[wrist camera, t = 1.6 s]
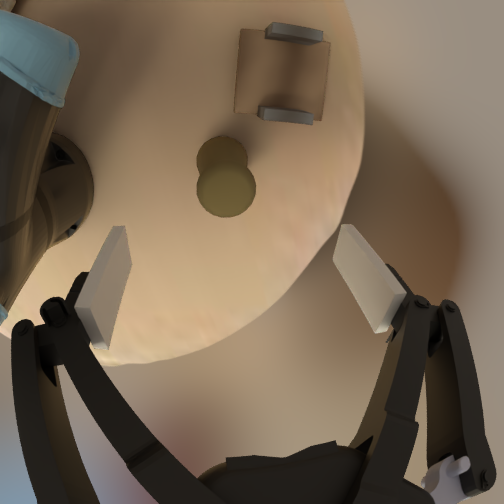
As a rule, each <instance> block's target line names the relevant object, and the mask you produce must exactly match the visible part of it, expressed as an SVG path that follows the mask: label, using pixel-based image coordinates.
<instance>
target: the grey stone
mask: <svg viewBox="0 0 504 504" xmlns="http://www.w3.org/2000/svg"><path fill="white" fill-rule="evenodd" d="M15 3H16V0H0V9H1V10H5V11H8V12H11V10H12V9H13V7H14V5H15Z"/></svg>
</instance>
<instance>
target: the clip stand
mask: <svg viewBox="0 0 504 504" xmlns="http://www.w3.org/2000/svg"><path fill="white" fill-rule="evenodd" d="M322 39H323V31H320V30H315V29H311V28H306V27H301V26H295V25H290V24H283V23H277V22H272V23H271V24H270V25H269V26H268V27H267V28H266V29H265V31H261V30H251V29H241V31H240V41H239V52H238V63H237V75H236V88H235V101H234V113H249V114H257V116H258V117H260V118H261V119H263V120H269V121H281V122H290V123H299V124H307V125H313V120H317V121H321V119H322V112H323V104H324V97H325V89H326V80H327V72H328V63H329V53H330V43H329V42H325V41H322Z"/></svg>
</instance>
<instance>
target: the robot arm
mask: <svg viewBox="0 0 504 504" xmlns="http://www.w3.org/2000/svg"><path fill="white" fill-rule="evenodd" d="M79 57H80V51H79V46H78V44H77V42H76V41H75V40H74V39H73V38H72V37H71V36H69V35H67V34H65V33H63V32H61V31H59V30H56V29H54V28H52V27H49V26H47V25H45V24H42V23H40V22H37V21H34V20H32V19H29V18H26V17H23V16H21V15H18V14H14V13H11V12H8V11H5V10H1V9H0V325H1V324H2V322H3V321H4V320H5V319H6V318H7V317H8V312H9V310H10V308H11V306H12V305H13V303H14V301H15V299H16V297H17V296H18V294H19V292H20V291H21V289H22V287H23V286H24V284H25V282H26V281H27V279H28V277H29V276H30V274H31V273H32V271H33V270H34V268H35V267H36V265H37V264H38V262H39V261H40V259H41V258H42V256H43V254H44V253H45V252H46V250H47V249H49V248H51V247H53V246H55V245H56V244H58V243H60V242H62V241H64V240H66V239H68V238H69V237H71V236H72V235H73V234H74V233H75V232H76V231H77V230H78V229H79V228H80V226H81V225H82V223H83V222H84V221H85V219H86V218H87V216H88V214H89V212H90V209H91V206H92V201H93V180H92V175H91V172H90V169H89V166H88V164H87V161H86V159H85V158H84V156H83V154H82V153H81V151H80V150H79V149H78V148H77V147H76V146H75V145H74V144H73V143H72V142H71V141H70V140H68V139H67V138H65V137H63V136H61V135H59V134H56V133H52V131H53V128H54V125H55V122H56V119H57V117H58V114H59V111H60V109H61V108H63V106H64V104H65V95H66V92H67V89H68V86H69V84H70V81H71V78H72V76H73V74H74V71H75V69H76V67H77V64H78V61H79ZM333 262H334V263H335V265H336V267H337V268H338V270H339V272H340V273H341V275H342V277H343V278H344V280H345V282H346V283H347V285H348V287H349V288H350V290H351V292H352V294H353V295H354V297H355V299H356V301H357V302H358V304H359V306H360V307H361V309H362V311H363V313H364V315H365V316H366V318H367V320H368V322H369V324H370V326H371V327H372V329H373V331H374V333H381V332H386V331H387V329H388V328H389V326H390V324H391V325H392V326H393V328H394V329H393V331H392V332H391V334H390V336H389V338H388V339H387V341H386V343H387V342H388V341H389V343H388V347H387V350H386V354H385V357H384V361H383V364H382V367H381V370H380V373H379V376H378V379H377V382H376V386H375V388H374V391H373V394H372V397H371V399H370V402H369V405H368V407H367V410H366V413H365V415H364V417H363V420H362V422H361V425H360V427H359V430H358V432H357V434H356V436H355V438H354V439H353V440H352V442H351V443H350V445H349V446H348V447H347V446H339V445H337V444H336V441H331V442H327V443H323V444H318V445H314V446H310V447H308V448H306V449H304V450H301V451H299V452H297V453H295V454H293V455H290V456H288V457H284V458H279V457H267V456H257V455H252V456H241V457H228V458H226V462H224V463H221V464H218V465H216V466H214V467H212V468H210V469H209V470H207V471H205V472H204V473H203V474H202V475H200V476H199V477H198V478H196V477H195V476H194V475H192V474H191V473H190V472H189V471H188V470H187V469H186V468H185V467H184V466H183V465H182V464H181V463H180V462H179V461H178V460H177V459H176V458H175V457H174V456H173V455H172V454H171V453H170V452H169V451H168V450H167V449H166V448H165V447H164V446H163V445H162V443H160V442H159V441H158V440H157V439H156V437H155V436H154V435H153V434H152V433H151V432H150V431H149V429H148V428H147V427H146V426H145V425H144V423H143V422H142V421H141V420H140V419H139V417H138V416H137V415H136V414H135V413H134V411H133V410H132V409H131V407H130V406H129V405H128V403H127V402H126V401H125V399H124V398H123V397H122V396H121V394H120V393H119V391H118V390H117V389H116V387H115V386H114V384H113V383H112V381H111V380H110V379H109V377H108V376H107V374H106V373H105V371H104V370H103V368H102V367H101V365H100V363H99V362H98V360H97V359H96V357H95V356H94V354H93V352H92V351H91V349H90V347H89V344H90V341H91V343H92V345H93V347H94V349H106V350H109V346H110V341H111V337H112V333H113V329H114V325H115V321H116V317H117V314H118V310H119V306H120V303H121V299H122V296H123V292H124V289H125V286H126V282H127V279H128V276H129V273H130V270H131V266H132V261H131V256H130V251H129V246H128V240H127V234H126V229H125V226H113V227H112V229H111V231H110V233H109V235H108V237H107V238H106V240H105V242H104V244H103V246H102V248H101V250H100V252H99V254H98V256H97V258H96V260H95V262H94V264H93V266H92V268H91V270H90V272H81V273H80V274H79V275H78V276H77V277H76V278H75V280H74V282H73V284H72V287H71V289H70V291H69V293H68V295H67V297H66V299H65V300H64V299H63V298H61V297H53V298H50V299H48V300H46V301H45V302H44V303H43V304H42V306H41V308H40V315H41V317H42V318H43V320H44V322H45V324H42V325H38V326H34V324H33V322H32V321H31V320H28V319H24V320H21V321H19V322H18V323H16V324H15V326H14V327H13V329H12V335H11V365H12V384H13V396H14V405H15V412H16V420H17V426H18V432H19V437H20V442H21V446H22V451H23V455H24V459H25V463H26V467H27V471H28V474H29V478H30V481H31V484H32V487H33V490H34V493H35V496H36V498H37V504H100V502H99V500H98V498H97V495H96V493H95V491H94V488H93V486H92V484H91V481H90V479H89V477H88V474H87V472H86V469H85V467H84V464H83V462H82V459H81V456H80V453H79V451H78V448H77V445H76V442H75V439H74V436H73V432H72V429H71V426H70V422H69V419H68V415H67V412H66V407H65V403H64V399H63V395H62V390H61V385H60V381H59V375H58V369H57V365H63V364H64V366H65V368H66V370H67V372H68V374H69V376H70V377H71V380H72V381H73V383H74V385H75V387H76V389H77V391H78V393H79V394H80V396H81V398H82V400H83V401H84V403H85V405H86V406H87V408H88V410H89V411H90V413H91V415H92V416H93V417H94V419H95V421H96V422H97V424H98V425H99V427H100V428H101V430H102V431H103V433H104V434H105V436H106V437H107V439H108V440H109V441H110V443H111V444H112V446H113V447H114V448H115V449H116V451H117V452H118V454H119V455H120V456H121V458H122V459H123V460H124V462H125V463H126V466H127V468H128V469H129V471H130V472H131V473H132V474H133V476H134V477H135V478H136V479H137V480H138V482H139V483H140V484H141V485H142V486H143V487H144V488H145V489H146V490H147V492H148V493H149V494H150V495H151V496H152V497H153V498H154V499H155V500H156V501H157V502H158V503H159V504H457V503H459V502H460V501H463V500H466V499H468V498H471V497H473V496H475V495H478V494H480V493H483V492H485V491H487V490H489V489H490V488H491V487H492V486H493V485H494V483H495V480H496V468H495V464H494V461H493V457H492V454H491V451H490V448H489V445H488V442H487V439H486V436H485V429H484V418H483V409H482V402H481V396H480V389H479V384H478V378H477V373H476V369H475V364H474V360H473V355H472V351H471V347H470V343H469V339H468V336H467V332H466V329H465V325H464V322H463V319H462V316H461V313H460V310H459V308H458V306H457V305H456V304H455V303H454V302H453V301H450V300H446V299H445V300H443V301H442V302H441V304H440V306H434V305H431V304H430V303H429V301H428V300H427V299H426V298H424V297H422V296H419V295H414V294H413V293H412V291H411V290H410V288H409V287H408V286H407V285H406V283H405V282H404V281H403V280H402V278H401V277H400V276H399V274H398V273H397V272H396V270H395V269H394V268H393V267H391V266H390V265H389V264H384V262H383V261H382V260H381V259H380V257H379V256H378V255H377V254H376V252H375V251H374V250H373V249H372V247H371V246H370V245H369V244H368V243H367V241H366V240H365V239H364V238H363V237H362V236H361V234H360V233H359V232H358V231H357V230H356V228H355V227H354V226H353V225H352V224H342V225H341V229H340V233H339V237H338V241H337V245H336V249H335V252H334V256H333ZM424 370H425V382H426V397H427V467H428V471H427V473H426V476H425V477H423V479H422V481H421V485H422V487H423V488H424V489H422V488H420V487H418V486H417V485H415V484H413V483H411V482H409V481H408V480H406V479H404V478H403V477H404V475H405V472H406V469H407V466H408V463H409V460H410V457H411V454H412V450H413V447H414V444H415V440H416V437H417V433H418V428H419V424H418V422H415V414H416V410H417V406H418V402H419V397H420V392H421V387H422V382H423V376H424Z"/></svg>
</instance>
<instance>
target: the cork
mask: <svg viewBox="0 0 504 504" xmlns="http://www.w3.org/2000/svg"><path fill="white" fill-rule="evenodd" d="M197 167H198V170H199V173H200V176H199V179H198V182H197V196H198V199H199V201H200V203H201V205H202V206H203V207H204V208H205V210H206V211H208V212H209V213H211V214H212V215H215V216H218V217H233V216H237V215H239V214H241V213H242V212H244V211H246V210H247V209H248V207H249V206H250V205H251V204H252V202H253V199H254V197H255V193H256V183H255V179H254V176H253V175H252V173H251V172H250V170H249V169H248V168H247V154H246V150H245V149H244V147H243V146H242V144H241V143H239V142H238V141H237V140H235V139H233V138H230V137H216V138H213V139H210V140H209V141H207V142H206V143H204V144H203V146H202V147H201V148H200V150H199V152H198V155H197Z"/></svg>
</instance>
